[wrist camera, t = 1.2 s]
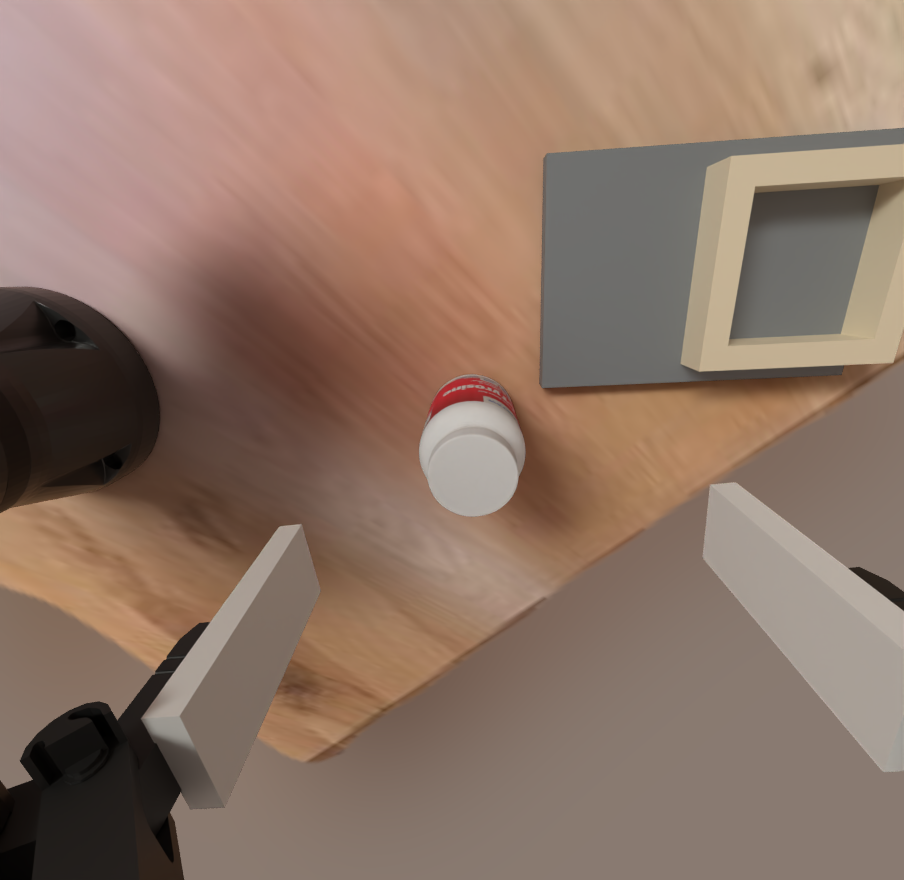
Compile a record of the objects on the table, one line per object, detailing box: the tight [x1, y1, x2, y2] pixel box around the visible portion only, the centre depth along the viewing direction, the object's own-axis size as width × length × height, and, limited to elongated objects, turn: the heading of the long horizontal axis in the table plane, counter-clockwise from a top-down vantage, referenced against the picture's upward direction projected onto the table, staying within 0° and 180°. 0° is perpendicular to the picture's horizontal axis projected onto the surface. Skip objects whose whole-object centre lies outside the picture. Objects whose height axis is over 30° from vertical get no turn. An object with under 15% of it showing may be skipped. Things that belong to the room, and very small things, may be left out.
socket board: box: [539, 128, 904, 388], centre depth 26 cm, size 21×14×4 cm
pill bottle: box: [419, 374, 526, 517], centre depth 27 cm, size 6×6×11 cm
